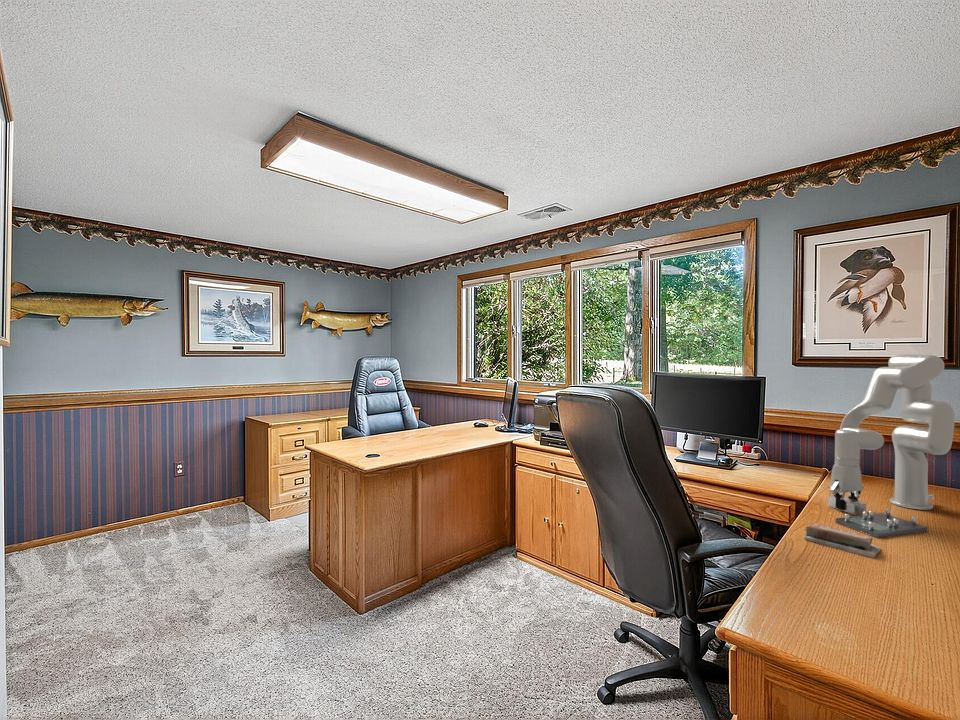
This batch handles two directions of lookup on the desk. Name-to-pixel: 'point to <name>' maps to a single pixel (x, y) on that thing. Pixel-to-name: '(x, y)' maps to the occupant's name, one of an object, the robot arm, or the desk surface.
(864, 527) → the tray
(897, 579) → the desk surface
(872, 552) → the packaged product
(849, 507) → the block
